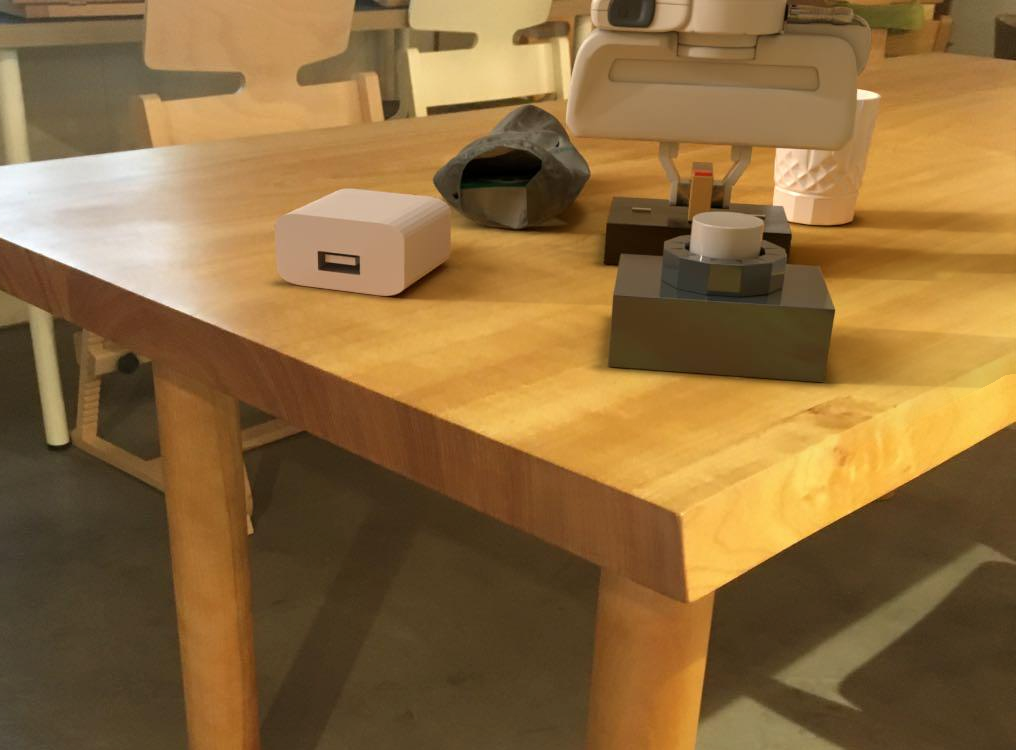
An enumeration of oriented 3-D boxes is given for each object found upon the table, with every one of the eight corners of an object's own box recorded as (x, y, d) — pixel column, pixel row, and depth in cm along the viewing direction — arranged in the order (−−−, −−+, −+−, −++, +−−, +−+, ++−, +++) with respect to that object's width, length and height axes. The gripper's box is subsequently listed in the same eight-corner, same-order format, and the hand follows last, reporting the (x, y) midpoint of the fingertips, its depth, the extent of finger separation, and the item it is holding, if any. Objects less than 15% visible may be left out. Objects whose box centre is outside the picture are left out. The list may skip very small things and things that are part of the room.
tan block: (688, 204, 94) (692, 158, 93) (707, 205, 94) (713, 159, 93) (687, 221, 90) (692, 172, 88) (708, 222, 89) (714, 173, 88)
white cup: (822, 203, 110) (840, 84, 105) (879, 224, 103) (902, 98, 99) (746, 209, 107) (761, 87, 102) (801, 230, 101) (820, 101, 96)
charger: (478, 245, 94) (404, 298, 81) (366, 233, 96) (277, 282, 84) (480, 181, 92) (403, 226, 79) (365, 170, 94) (273, 211, 82)
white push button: (757, 248, 73) (762, 213, 72) (761, 266, 69) (766, 229, 68) (688, 244, 73) (692, 209, 72) (688, 262, 70) (692, 225, 69)
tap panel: (777, 243, 97) (783, 202, 95) (786, 277, 88) (793, 232, 87) (610, 233, 98) (613, 193, 97) (603, 265, 90) (606, 221, 88)
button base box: (809, 332, 77) (824, 236, 74) (823, 382, 69) (841, 276, 66) (615, 319, 79) (623, 224, 76) (607, 366, 71) (615, 262, 68)
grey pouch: (579, 237, 96) (611, 169, 118) (577, 141, 93) (610, 89, 114) (414, 239, 99) (475, 172, 120) (406, 146, 96) (470, 94, 117)
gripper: (870, 4, 87) (839, 205, 93) (577, -7, 89) (566, 189, 96) (883, 12, 81) (848, 225, 87) (569, -1, 84) (558, 207, 90)
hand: (698, 206), depth 92 cm, fingers closed on tan block, 2 cm apart
